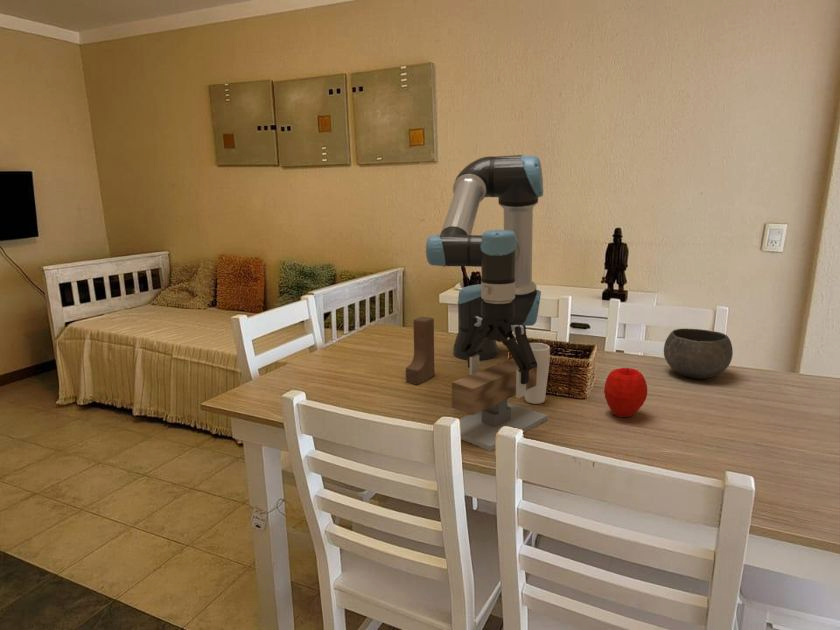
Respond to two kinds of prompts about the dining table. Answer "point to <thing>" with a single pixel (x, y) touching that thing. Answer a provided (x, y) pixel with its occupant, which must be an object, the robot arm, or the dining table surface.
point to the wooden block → (422, 351)
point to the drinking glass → (539, 373)
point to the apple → (625, 391)
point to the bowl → (698, 352)
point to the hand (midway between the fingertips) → (496, 388)
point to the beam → (488, 387)
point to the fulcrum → (497, 423)
